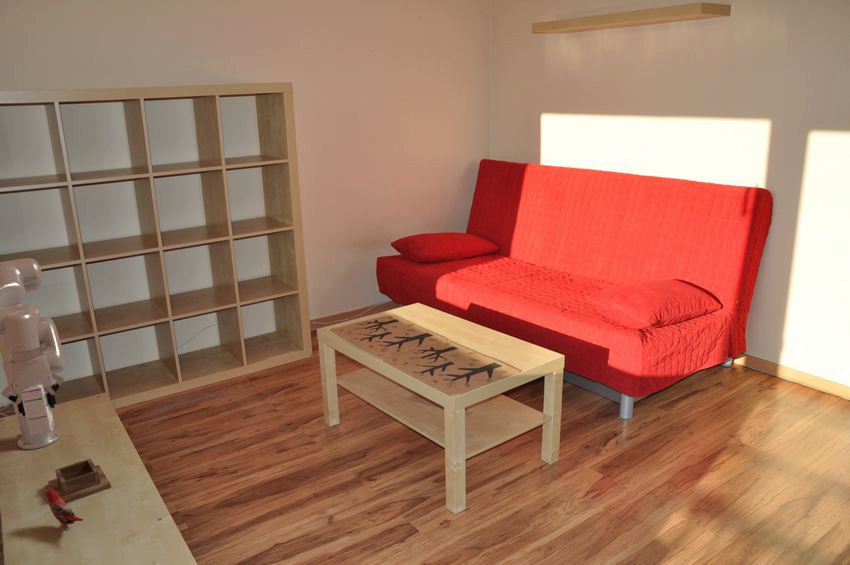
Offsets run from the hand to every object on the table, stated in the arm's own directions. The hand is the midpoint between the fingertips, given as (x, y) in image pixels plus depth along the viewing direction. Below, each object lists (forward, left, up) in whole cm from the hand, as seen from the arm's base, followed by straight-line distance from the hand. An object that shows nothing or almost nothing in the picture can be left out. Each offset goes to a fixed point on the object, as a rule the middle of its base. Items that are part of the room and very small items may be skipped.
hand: (38, 410), depth 200 cm
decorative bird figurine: (+33, -2, -22) cm, 40 cm away
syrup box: (0, 0, -7) cm, 7 cm away
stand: (+12, +5, -22) cm, 25 cm away
